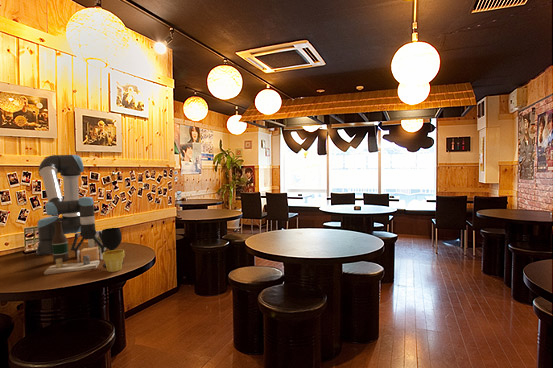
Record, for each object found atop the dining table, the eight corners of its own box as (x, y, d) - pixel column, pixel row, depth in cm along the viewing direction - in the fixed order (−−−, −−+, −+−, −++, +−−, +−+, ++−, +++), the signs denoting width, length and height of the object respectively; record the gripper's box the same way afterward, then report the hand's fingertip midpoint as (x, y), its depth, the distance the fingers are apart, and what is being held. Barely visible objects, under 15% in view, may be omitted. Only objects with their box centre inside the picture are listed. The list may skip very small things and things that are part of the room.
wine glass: (127, 262, 192) (125, 227, 191) (113, 267, 182) (110, 231, 181) (113, 261, 195) (111, 227, 194) (98, 266, 186) (96, 230, 184)
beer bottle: (61, 262, 197) (58, 222, 195) (50, 262, 198) (46, 222, 197) (71, 259, 204) (69, 219, 203) (61, 258, 206) (58, 219, 204)
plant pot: (119, 265, 185) (118, 248, 185) (129, 269, 179) (127, 250, 178) (100, 270, 178) (99, 252, 177) (109, 274, 171) (107, 255, 170)
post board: (51, 268, 186) (50, 257, 185) (99, 262, 194) (99, 252, 193) (44, 274, 174) (43, 263, 174) (96, 268, 182) (95, 257, 182)
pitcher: (117, 250, 223) (116, 229, 222) (88, 256, 209) (86, 234, 209) (111, 247, 230) (109, 227, 229) (82, 253, 217) (80, 232, 216)
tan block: (84, 260, 201) (83, 248, 200) (99, 258, 203) (98, 246, 203) (81, 263, 193) (80, 251, 193) (96, 261, 196) (95, 249, 195)
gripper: (62, 226, 190) (65, 264, 191) (109, 222, 197) (111, 259, 199) (66, 224, 197) (69, 261, 198) (110, 220, 204) (113, 256, 206)
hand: (90, 260), depth 198 cm, fingers open, 11 cm apart
